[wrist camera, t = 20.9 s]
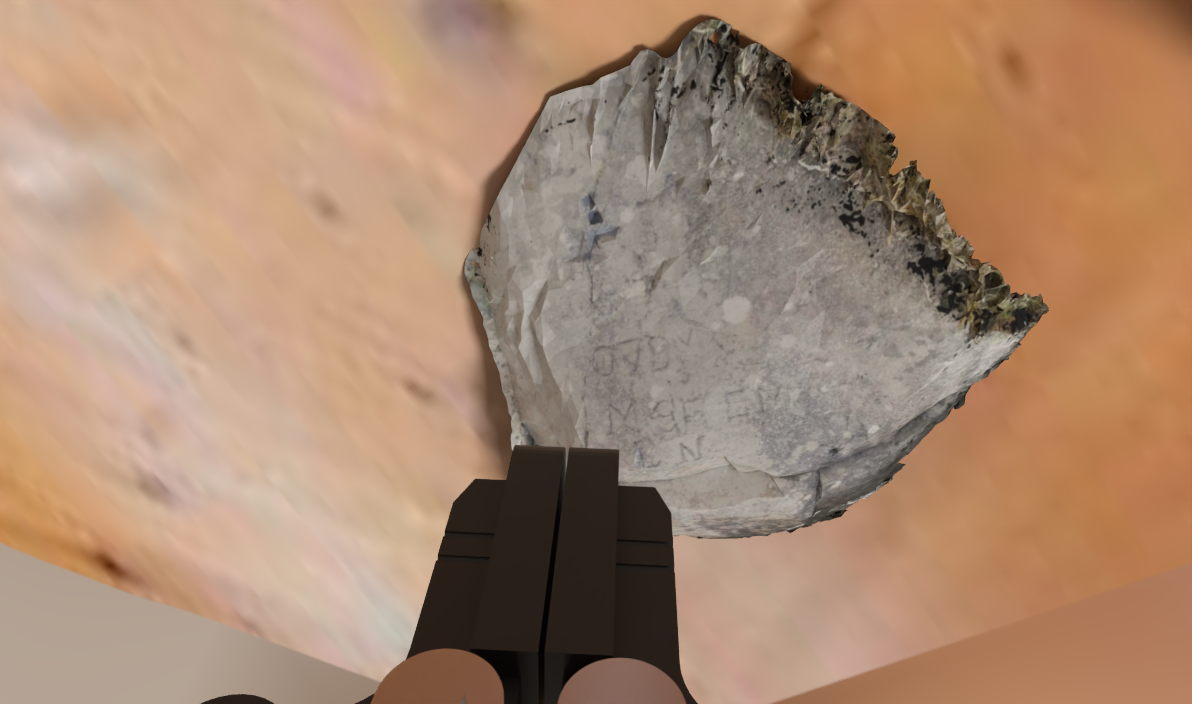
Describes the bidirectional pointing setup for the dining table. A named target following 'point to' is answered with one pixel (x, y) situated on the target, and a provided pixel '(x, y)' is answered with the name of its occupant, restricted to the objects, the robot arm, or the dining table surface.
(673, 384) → the stone fragment
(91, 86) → the dining table surface
